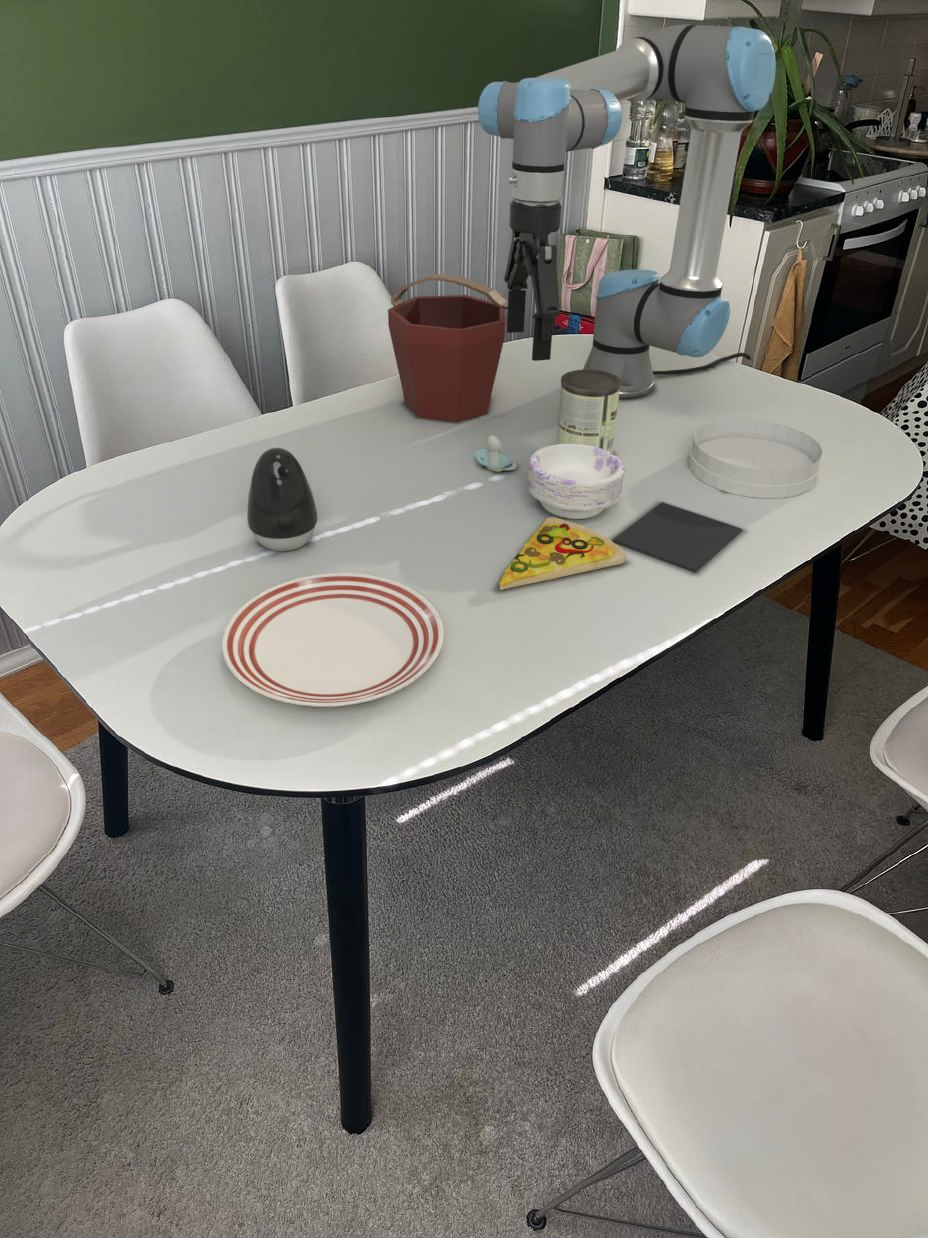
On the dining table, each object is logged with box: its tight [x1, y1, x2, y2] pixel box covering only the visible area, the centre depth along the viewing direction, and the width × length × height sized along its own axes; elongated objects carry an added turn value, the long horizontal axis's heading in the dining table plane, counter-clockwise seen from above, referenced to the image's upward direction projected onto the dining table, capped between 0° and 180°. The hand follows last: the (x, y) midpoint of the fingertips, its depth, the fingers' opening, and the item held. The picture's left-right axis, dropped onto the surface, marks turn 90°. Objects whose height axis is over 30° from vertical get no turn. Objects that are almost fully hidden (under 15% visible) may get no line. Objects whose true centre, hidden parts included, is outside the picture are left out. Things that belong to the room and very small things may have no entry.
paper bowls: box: [526, 443, 626, 520], centre depth 151 cm, size 15×15×8 cm
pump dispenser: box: [246, 447, 318, 552], centre depth 138 cm, size 10×10×15 cm
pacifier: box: [475, 434, 518, 472], centre depth 163 cm, size 7×6×6 cm
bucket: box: [387, 273, 508, 423], centre depth 181 cm, size 24×22×25 cm
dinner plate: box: [221, 572, 445, 708], centre depth 119 cm, size 27×27×3 cm
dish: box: [687, 418, 823, 500], centre depth 165 cm, size 22×22×5 cm
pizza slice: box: [499, 516, 627, 591], centre depth 137 cm, size 16×21×3 cm
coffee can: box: [556, 369, 621, 454], centre depth 166 cm, size 10×10×14 cm
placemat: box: [612, 501, 743, 573], centre depth 146 cm, size 16×14×1 cm
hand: (527, 345), depth 149 cm, fingers open, 13 cm apart
